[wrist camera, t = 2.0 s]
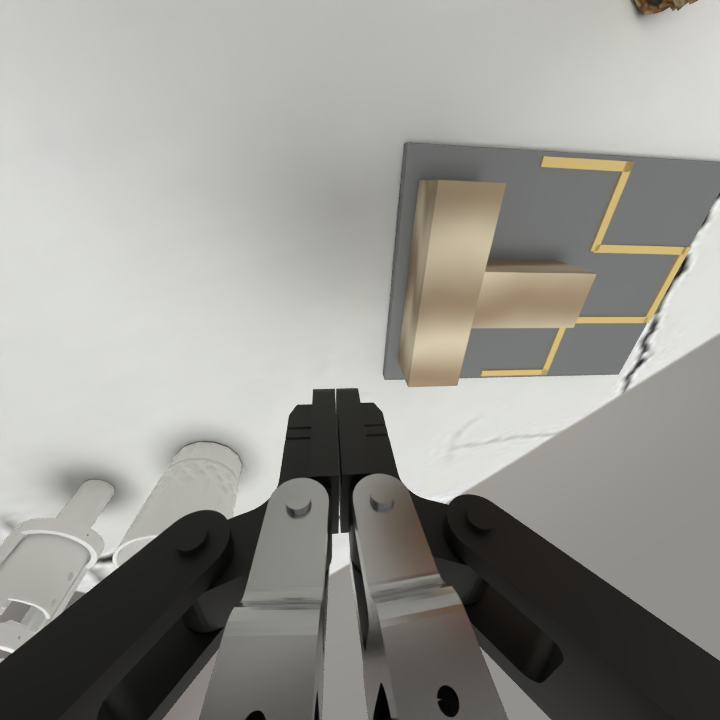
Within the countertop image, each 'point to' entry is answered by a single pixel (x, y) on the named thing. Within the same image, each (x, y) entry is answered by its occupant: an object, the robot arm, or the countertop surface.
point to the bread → (660, 5)
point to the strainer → (49, 562)
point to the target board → (566, 246)
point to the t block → (472, 282)
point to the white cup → (185, 494)
